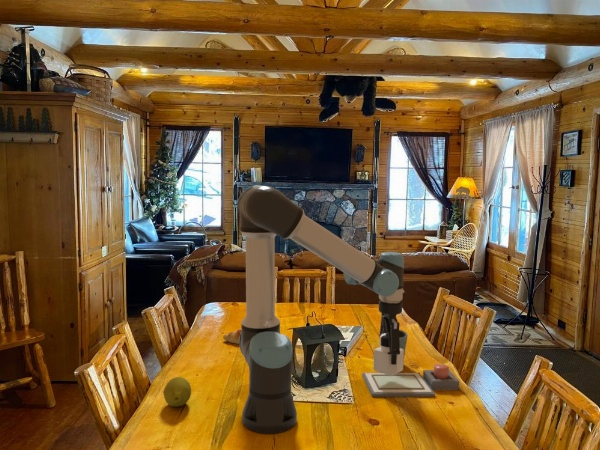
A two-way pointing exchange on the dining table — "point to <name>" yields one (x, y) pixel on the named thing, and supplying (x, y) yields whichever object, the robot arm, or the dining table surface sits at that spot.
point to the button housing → (441, 381)
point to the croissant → (233, 336)
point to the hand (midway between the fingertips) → (388, 366)
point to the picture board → (397, 385)
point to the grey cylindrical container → (403, 340)
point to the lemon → (177, 391)
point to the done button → (441, 371)
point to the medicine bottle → (386, 356)
